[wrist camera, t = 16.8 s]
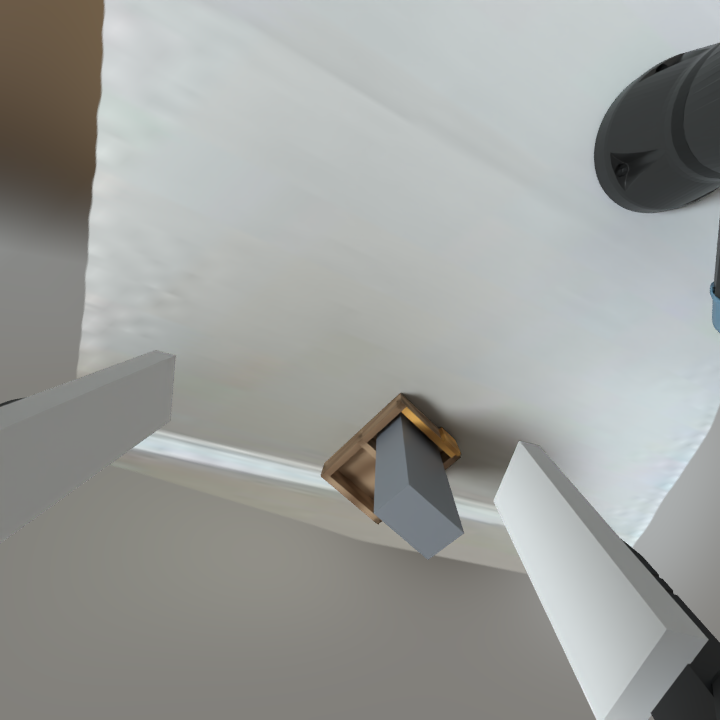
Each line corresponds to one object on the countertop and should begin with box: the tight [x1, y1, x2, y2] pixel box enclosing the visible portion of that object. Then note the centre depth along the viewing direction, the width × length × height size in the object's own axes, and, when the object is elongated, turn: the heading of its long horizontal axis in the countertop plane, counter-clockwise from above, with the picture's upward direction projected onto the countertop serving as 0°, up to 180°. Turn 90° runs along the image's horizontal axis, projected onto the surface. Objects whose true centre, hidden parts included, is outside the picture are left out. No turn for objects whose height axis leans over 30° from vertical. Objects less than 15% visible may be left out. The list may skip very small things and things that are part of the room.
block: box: [374, 412, 464, 559], centre depth 42 cm, size 8×5×17 cm, turn 47°
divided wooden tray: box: [321, 393, 461, 524], centre depth 49 cm, size 12×18×4 cm
